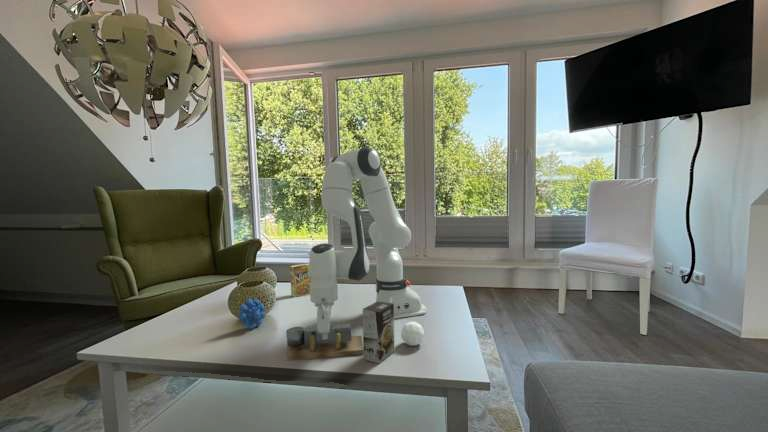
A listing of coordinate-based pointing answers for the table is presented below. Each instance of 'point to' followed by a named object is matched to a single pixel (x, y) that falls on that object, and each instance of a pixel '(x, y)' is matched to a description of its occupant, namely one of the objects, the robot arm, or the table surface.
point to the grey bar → (316, 335)
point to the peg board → (326, 348)
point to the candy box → (300, 280)
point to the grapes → (251, 313)
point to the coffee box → (378, 331)
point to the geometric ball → (412, 333)
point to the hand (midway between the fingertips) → (325, 335)
